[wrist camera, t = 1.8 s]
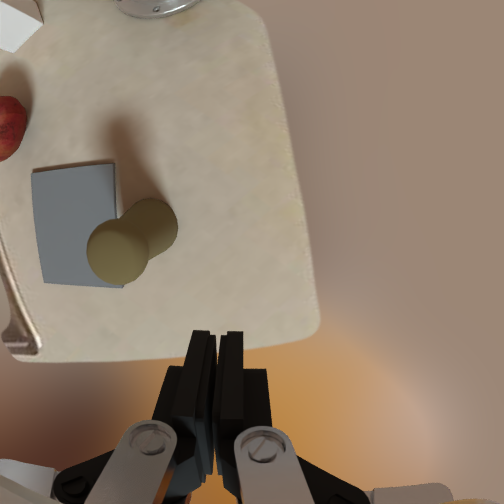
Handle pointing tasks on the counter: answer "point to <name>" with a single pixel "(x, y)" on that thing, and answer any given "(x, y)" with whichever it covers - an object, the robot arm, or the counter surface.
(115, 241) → the olive brown rounded cylinder
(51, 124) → the counter surface
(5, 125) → the fruit
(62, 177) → the grey mat
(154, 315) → the counter surface
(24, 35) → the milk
